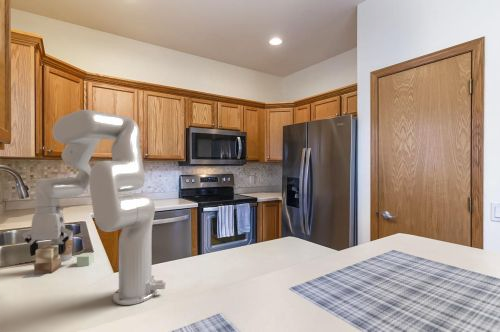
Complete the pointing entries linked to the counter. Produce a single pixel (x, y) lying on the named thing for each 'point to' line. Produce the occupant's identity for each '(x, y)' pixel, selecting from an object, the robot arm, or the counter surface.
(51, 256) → the maple block
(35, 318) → the counter surface
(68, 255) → the coffee cup
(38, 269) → the walnut block
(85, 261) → the sage block
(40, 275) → the flat square pad
